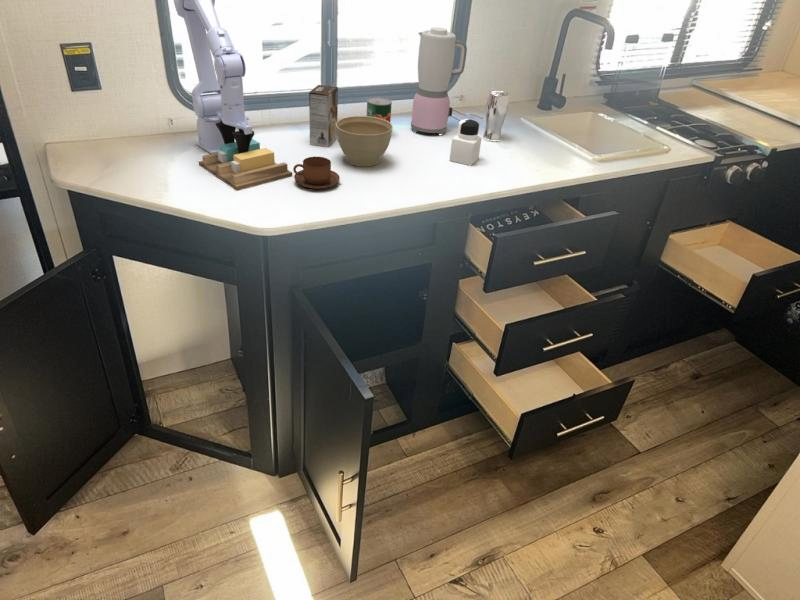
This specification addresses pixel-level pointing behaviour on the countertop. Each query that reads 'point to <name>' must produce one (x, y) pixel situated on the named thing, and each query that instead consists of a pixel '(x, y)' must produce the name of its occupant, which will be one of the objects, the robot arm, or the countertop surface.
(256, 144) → the teal plug block
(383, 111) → the canned tomato
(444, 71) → the blender
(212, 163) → the comb board
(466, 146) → the medicine bottle
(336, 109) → the coffee box
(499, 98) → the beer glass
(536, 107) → the countertop surface
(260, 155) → the ochre plug block
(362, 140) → the planter bowl
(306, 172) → the cup and saucer
